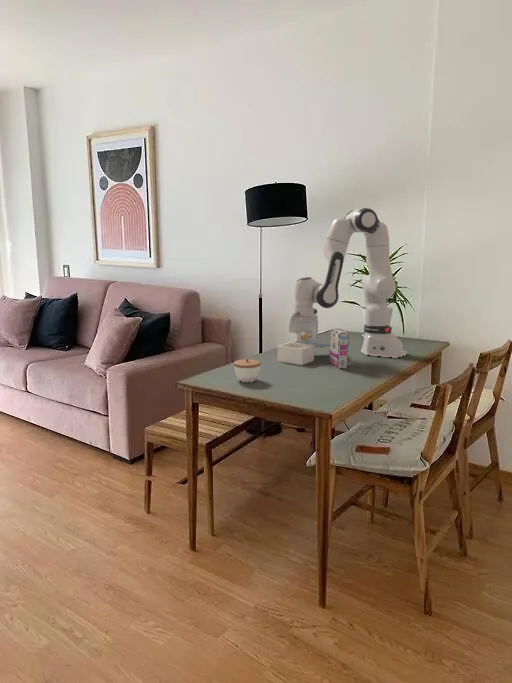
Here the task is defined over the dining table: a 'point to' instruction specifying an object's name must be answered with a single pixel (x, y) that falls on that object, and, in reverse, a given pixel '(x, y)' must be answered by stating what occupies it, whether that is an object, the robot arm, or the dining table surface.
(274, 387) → the dining table surface
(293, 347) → the tub
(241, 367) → the lidded jar
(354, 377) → the dining table surface
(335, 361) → the candy bar box
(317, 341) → the lid
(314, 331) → the supplement tub
